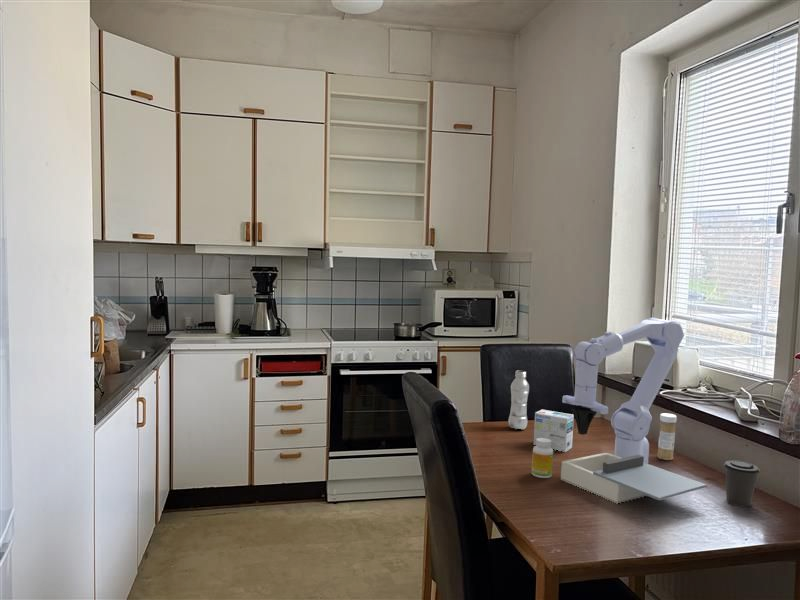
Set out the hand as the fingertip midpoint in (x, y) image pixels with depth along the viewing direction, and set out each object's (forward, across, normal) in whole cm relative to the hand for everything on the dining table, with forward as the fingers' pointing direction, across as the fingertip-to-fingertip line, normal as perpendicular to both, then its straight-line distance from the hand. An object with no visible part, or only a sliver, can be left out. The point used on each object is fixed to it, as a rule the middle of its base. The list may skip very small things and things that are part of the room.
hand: (582, 433), depth 171 cm
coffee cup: (+11, +34, +19) cm, 40 cm away
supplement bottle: (+11, -2, -13) cm, 17 cm away
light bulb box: (+11, -19, +9) cm, 24 cm away
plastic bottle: (+11, -39, +13) cm, 42 cm away
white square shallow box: (+10, +12, -2) cm, 16 cm away
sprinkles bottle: (+11, +4, +33) cm, 35 cm away
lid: (+5, +23, -2) cm, 24 cm away
